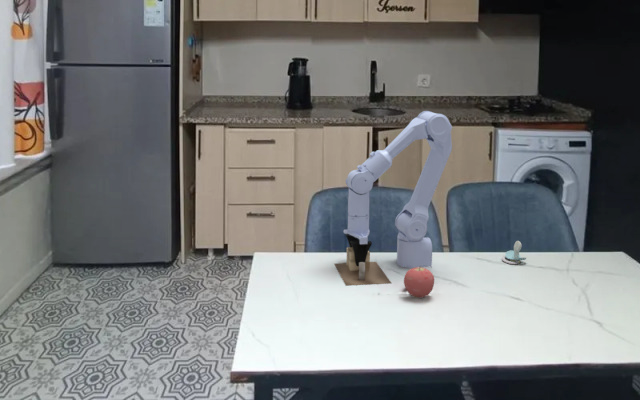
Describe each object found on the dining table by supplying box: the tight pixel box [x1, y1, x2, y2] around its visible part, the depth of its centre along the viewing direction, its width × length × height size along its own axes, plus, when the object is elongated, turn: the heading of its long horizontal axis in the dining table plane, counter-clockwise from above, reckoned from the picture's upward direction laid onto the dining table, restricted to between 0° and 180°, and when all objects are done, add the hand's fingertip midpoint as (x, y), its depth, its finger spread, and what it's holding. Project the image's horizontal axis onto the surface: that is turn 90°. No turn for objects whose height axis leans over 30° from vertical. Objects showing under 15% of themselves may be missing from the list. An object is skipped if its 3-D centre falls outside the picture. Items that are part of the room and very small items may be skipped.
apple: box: [403, 266, 435, 299], centre depth 168 cm, size 7×7×8 cm
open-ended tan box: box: [346, 246, 371, 271], centre depth 185 cm, size 5×5×5 cm
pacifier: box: [501, 240, 527, 265], centre depth 195 cm, size 7×6×6 cm
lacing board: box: [333, 261, 392, 287], centre depth 181 cm, size 12×18×6 cm, turn 8°
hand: (358, 262), depth 186 cm, fingers closed on open-ended tan box, 5 cm apart
